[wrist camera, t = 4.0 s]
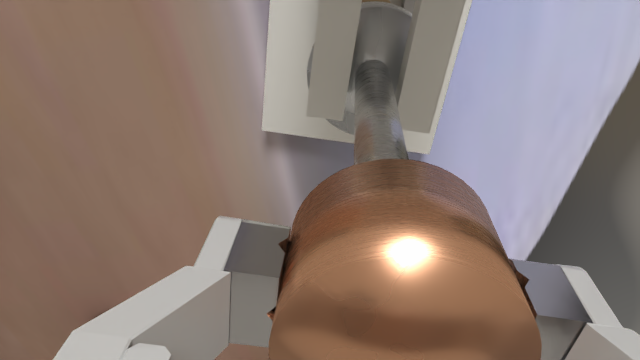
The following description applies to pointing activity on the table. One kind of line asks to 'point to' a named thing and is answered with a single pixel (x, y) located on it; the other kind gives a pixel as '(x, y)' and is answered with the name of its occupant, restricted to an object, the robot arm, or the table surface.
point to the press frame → (336, 60)
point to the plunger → (395, 242)
